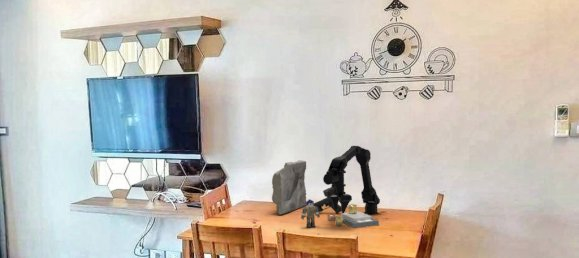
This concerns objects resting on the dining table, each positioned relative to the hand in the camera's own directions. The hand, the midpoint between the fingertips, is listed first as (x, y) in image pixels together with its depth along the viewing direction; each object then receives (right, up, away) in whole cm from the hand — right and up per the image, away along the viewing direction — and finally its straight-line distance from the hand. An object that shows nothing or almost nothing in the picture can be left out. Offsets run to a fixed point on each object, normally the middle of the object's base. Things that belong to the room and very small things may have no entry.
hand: (339, 211), depth 247 cm
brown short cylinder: (-3, -7, +12) cm, 14 cm away
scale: (+11, -7, +5) cm, 14 cm away
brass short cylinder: (+9, -3, +11) cm, 14 cm away
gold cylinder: (0, -8, +1) cm, 8 cm away
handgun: (-5, -7, +30) cm, 31 cm away
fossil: (-26, -7, +41) cm, 49 cm away
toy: (-15, -8, -2) cm, 17 cm away
